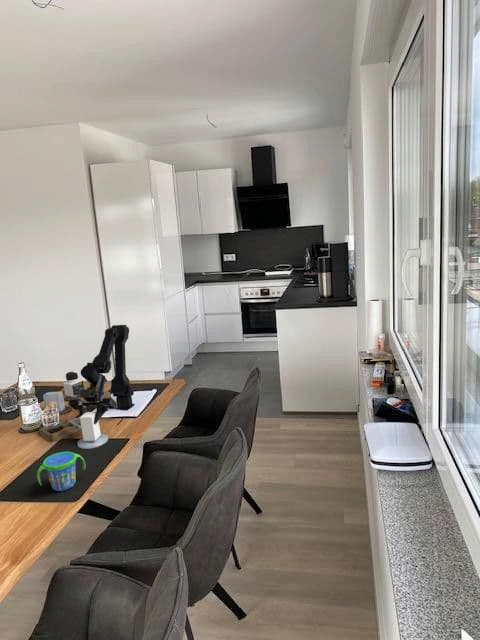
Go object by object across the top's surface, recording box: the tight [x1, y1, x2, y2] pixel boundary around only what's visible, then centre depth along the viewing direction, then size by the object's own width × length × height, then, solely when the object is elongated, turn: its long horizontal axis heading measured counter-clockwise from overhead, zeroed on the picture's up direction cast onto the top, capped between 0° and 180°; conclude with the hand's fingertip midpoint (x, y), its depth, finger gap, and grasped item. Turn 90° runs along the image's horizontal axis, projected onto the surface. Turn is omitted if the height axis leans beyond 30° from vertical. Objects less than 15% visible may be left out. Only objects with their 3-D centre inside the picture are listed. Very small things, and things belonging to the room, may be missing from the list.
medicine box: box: [42, 391, 66, 412], centre depth 233 cm, size 8×4×9 cm, turn 84°
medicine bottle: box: [62, 371, 85, 398], centre depth 253 cm, size 7×7×12 cm
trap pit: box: [67, 416, 101, 431], centre depth 216 cm, size 10×10×2 cm
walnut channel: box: [38, 419, 80, 443], centre depth 208 cm, size 12×11×2 cm
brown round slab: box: [77, 390, 112, 410], centre depth 240 cm, size 16×16×3 cm
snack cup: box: [36, 451, 87, 492], centre depth 164 cm, size 16×10×10 cm
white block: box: [79, 411, 102, 441], centre depth 196 cm, size 5×5×10 cm
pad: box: [76, 433, 109, 450], centre depth 197 cm, size 12×12×1 cm
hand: (88, 424), depth 194 cm, fingers closed on white block, 5 cm apart
